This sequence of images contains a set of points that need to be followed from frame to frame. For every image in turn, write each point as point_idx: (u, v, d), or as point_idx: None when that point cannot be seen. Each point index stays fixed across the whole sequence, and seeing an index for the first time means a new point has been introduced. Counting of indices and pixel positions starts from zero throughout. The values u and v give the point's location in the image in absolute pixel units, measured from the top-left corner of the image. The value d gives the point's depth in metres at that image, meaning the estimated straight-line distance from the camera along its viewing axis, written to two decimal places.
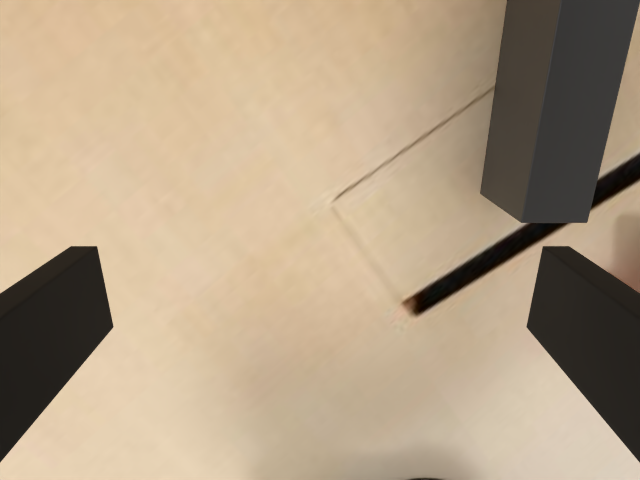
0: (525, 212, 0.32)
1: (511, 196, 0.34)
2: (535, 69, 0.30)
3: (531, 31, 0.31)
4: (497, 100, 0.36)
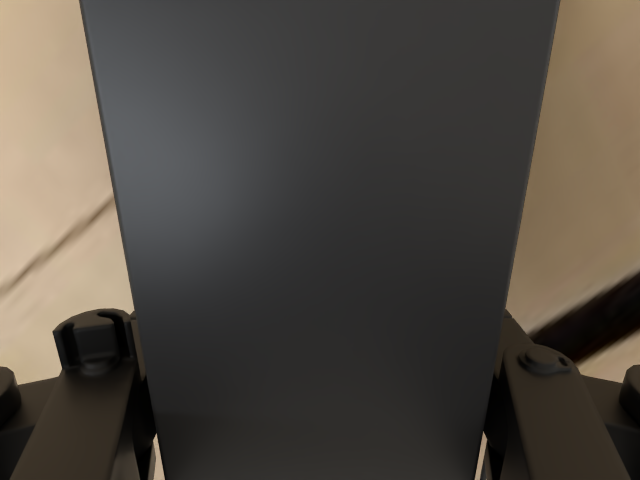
0: None
1: None
2: None
3: None
4: None
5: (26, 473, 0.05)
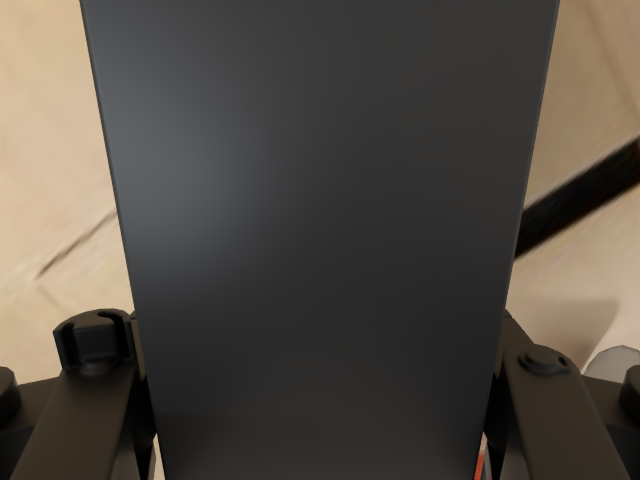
0: None
1: None
2: None
3: None
4: None
5: (26, 473, 0.05)
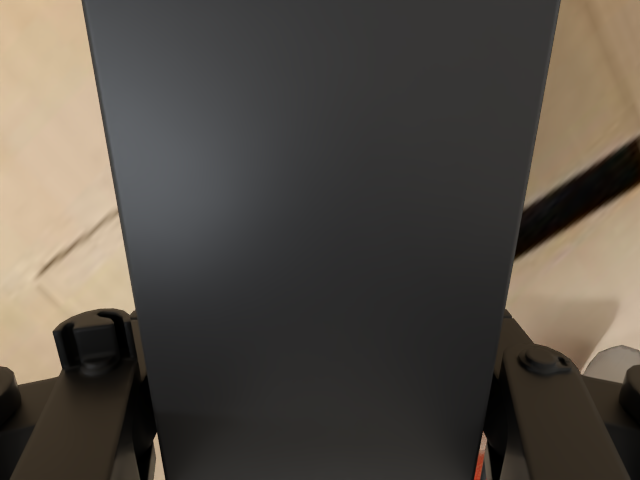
0: None
1: None
2: None
3: None
4: None
5: (26, 473, 0.05)
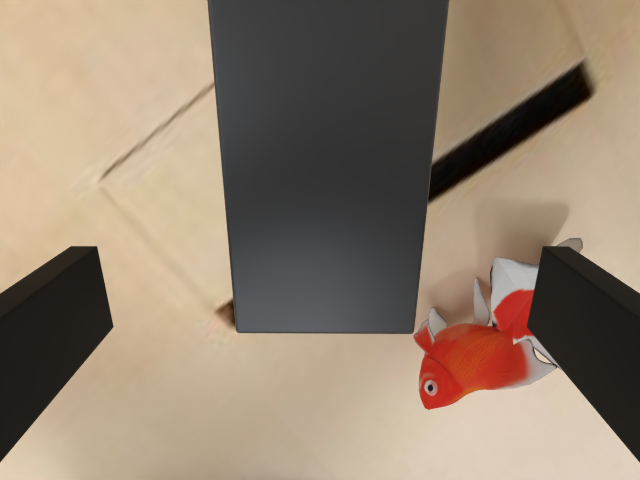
0: (240, 309, 0.12)
1: None
2: None
3: None
4: None
5: None
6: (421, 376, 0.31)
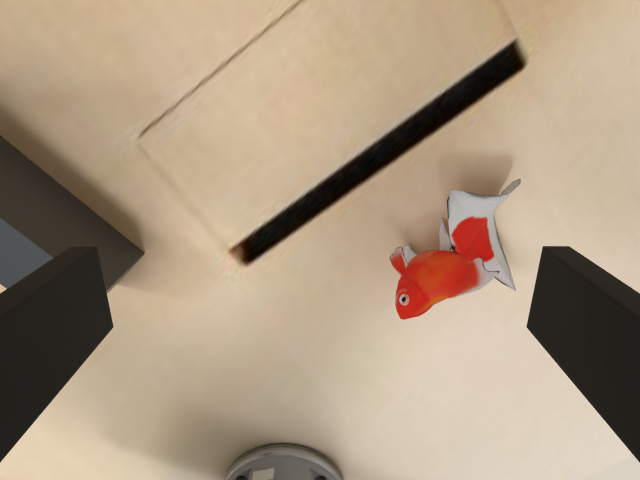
0: None
1: None
2: None
3: None
4: None
5: None
6: (397, 293, 0.38)
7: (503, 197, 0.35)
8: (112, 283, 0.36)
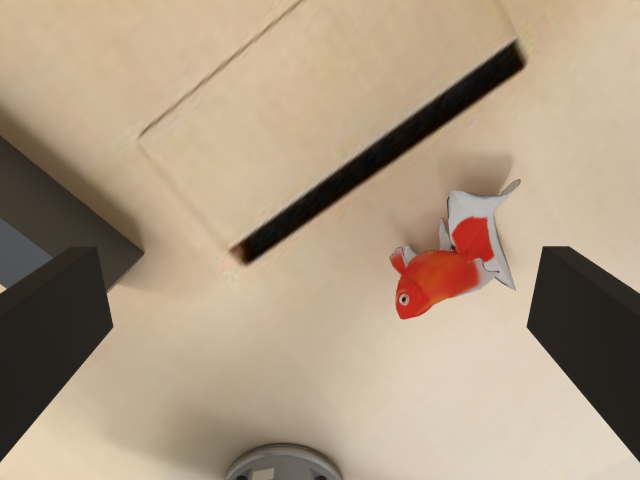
0: None
1: None
2: None
3: None
4: None
5: None
6: (397, 293, 0.38)
7: (503, 197, 0.35)
8: (112, 283, 0.36)
